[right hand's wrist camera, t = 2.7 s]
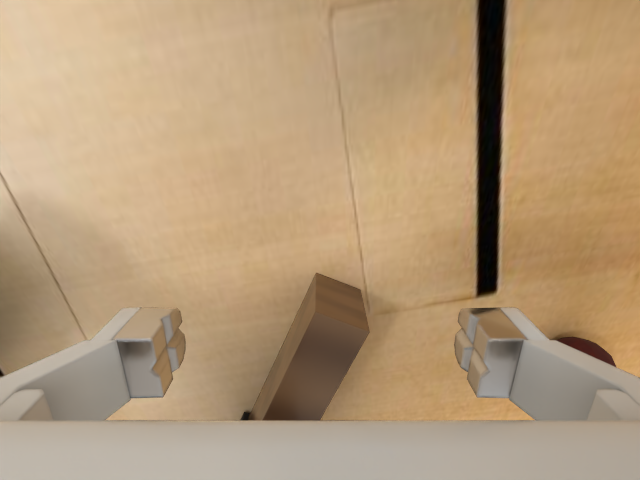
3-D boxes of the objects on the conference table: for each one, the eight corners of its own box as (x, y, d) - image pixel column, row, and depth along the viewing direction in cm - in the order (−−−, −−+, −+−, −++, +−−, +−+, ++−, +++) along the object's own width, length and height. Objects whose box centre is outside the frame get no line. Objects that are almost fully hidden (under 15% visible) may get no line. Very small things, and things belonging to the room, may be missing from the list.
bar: (316, 272, 41) (315, 311, 33) (360, 289, 42) (369, 331, 34) (240, 434, 50) (225, 496, 42) (278, 446, 51) (270, 508, 43)
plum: (545, 384, 46) (583, 430, 40) (518, 345, 44) (553, 387, 38) (599, 355, 45) (647, 398, 38) (573, 314, 43) (620, 352, 36)
